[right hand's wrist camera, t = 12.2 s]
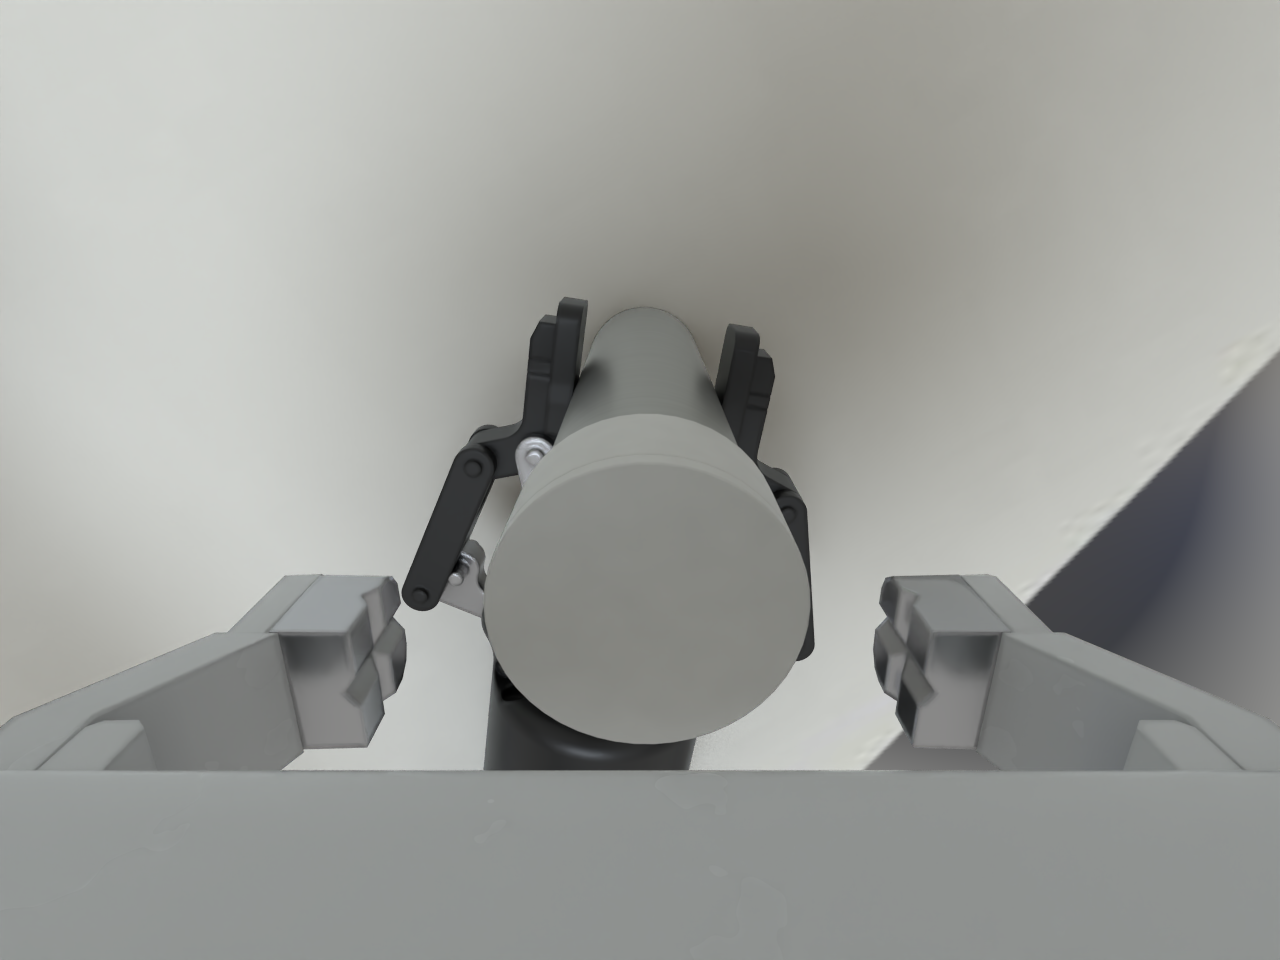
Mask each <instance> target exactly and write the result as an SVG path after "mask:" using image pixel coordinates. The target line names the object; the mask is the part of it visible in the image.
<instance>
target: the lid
mask: <svg viewBox="0 0 1280 960" xmlns="http://www.w3.org/2000/svg"><path fill="white" fill-rule="evenodd" d="M483 604H484V617H485V624H486V628H487V633H488V637H489V640H490V643H491V645H492V648H493V651H494V653H495V656H496V658H497V660H498V661H499V663H500V665H501V667H502V669H503V670H504V672H505V674H506V675H507V676H508V678H509V679H510V680H511V682H512V683H513V684H514V686H515V687H516V688H517V689H518V690H519V691H520V692H521V693H522V694H523V695H524V696H525V697H526V698H527V699H528V700H529V701H530V702H531V703H532V704H534V705H535V706H536V707H537V708H539V709H540V710H541V711H542V712H544V713H545V714H547V715H548V716H550V717H552V718H553V719H555V720H557V721H558V722H560V723H562V724H564V725H566V726H568V727H570V728H572V729H575V730H577V731H579V732H582V733H585V734H588V735H591V736H594V737H597V738H602V739H606V740H610V741H615V742H623V743H632V744H661V743H671V742H678V741H683V740H688V739H693V738H696V737H699V736H702V735H706V734H709V733H712V732H714V731H716V730H719V729H721V728H723V727H726V726H728V725H730V724H732V723H733V722H735V721H737V720H739V719H740V718H742V717H744V716H746V715H747V714H748V713H750V712H751V711H752V710H754V709H755V708H756V707H758V706H759V705H760V704H761V703H763V702H764V701H765V700H766V699H767V698H768V697H769V696H770V695H771V694H772V693H773V692H774V691H775V690H776V689H777V687H778V686H779V685H780V684H781V682H782V681H783V680H784V679H785V678H786V676H787V674H788V673H789V671H790V670H791V668H792V666H793V665H794V663H795V661H796V659H797V657H798V655H799V652H800V650H801V648H802V646H803V643H804V639H805V636H806V632H807V628H808V623H809V615H810V587H809V582H808V576H807V571H806V568H805V565H804V562H803V559H802V556H801V554H800V551H799V549H798V547H797V545H796V543H795V540H794V538H793V536H792V534H791V532H790V530H789V527H788V525H787V523H786V521H785V519H784V517H783V515H782V512H781V510H780V508H779V506H778V504H777V502H776V500H775V497H774V495H773V493H772V491H771V489H770V487H769V485H768V483H767V481H766V479H765V478H764V476H763V474H762V473H761V471H760V470H759V469H758V467H757V466H756V465H755V463H754V462H753V461H752V460H751V459H750V458H749V456H748V455H747V454H746V453H745V452H744V451H743V450H742V449H741V448H739V447H738V446H737V445H736V444H734V443H733V442H732V441H730V440H729V439H728V438H727V437H725V436H723V435H721V434H720V433H718V432H716V431H715V430H713V429H711V428H709V427H706V426H704V425H701V424H699V423H697V422H694V421H691V420H687V419H683V418H680V417H676V416H669V415H662V414H632V415H623V416H617V417H613V418H609V419H605V420H601V421H599V422H596V423H594V424H591V425H589V426H586V427H584V428H582V429H580V430H578V431H576V432H575V433H573V434H571V435H569V436H568V437H566V438H565V439H564V440H562V441H561V442H560V443H558V444H557V445H555V446H554V447H553V448H552V449H551V450H550V451H549V452H548V453H547V454H546V455H545V456H544V457H543V458H542V459H541V460H540V461H539V463H538V464H537V465H536V467H535V468H534V469H533V470H532V472H531V473H530V475H529V477H528V479H527V480H526V482H525V484H524V486H523V488H522V490H521V492H520V494H519V497H518V499H517V501H516V504H515V506H514V508H513V510H512V513H511V515H510V517H509V520H508V522H507V524H506V526H505V529H504V531H503V533H502V536H501V538H500V540H499V542H498V545H497V547H496V549H495V552H494V554H493V557H492V560H491V562H490V565H489V568H488V572H487V577H486V581H485V588H484V602H483Z"/></svg>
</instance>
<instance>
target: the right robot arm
mask: <svg viewBox="0 0 1280 960" xmlns="http://www.w3.org/2000/svg"><path fill="white" fill-rule="evenodd" d="M400 604H401V601H400V596H399V590H398V584H397V582H396V581H395V580H394V578H393V577H392V576H357V575H322V574H309V575H288V576H284V577H283V578H282V579H281V580H280V581H279V582H278V583H277V584H276V585H275V586H274V587H273V588H272V589H271V590H270V591H269V592H268V593H267V594H266V595H265V596H264V597H263V598H262V599H261V600H260V601H259V602H258V603H257V604H256V605H255V606H254V607H253V608H252V609H251V610H250V611H249V612H248V613H247V614H246V615H245V616H243V617H242V618H241V619H240V620H239V621H238V622H237V623H236V624H235V625H234V626H233V627H232V628H231V629H230V630H229V631H228V632H227V633H214V634H211V635H209V636H207V637H204V638H202V639H199V640H197V641H195V642H192V643H190V644H187V645H185V646H183V647H180V648H178V649H175V650H173V651H171V652H168V653H166V654H164V655H161V656H159V657H156V658H154V659H152V660H149V661H147V662H144V663H142V664H140V665H137V666H135V667H132V668H130V669H128V670H125V671H123V672H120V673H118V674H116V675H113V676H111V677H108V678H106V679H104V680H101V681H99V682H96V683H94V684H92V685H89V686H87V687H84V688H82V689H80V690H77V691H75V692H72V693H70V694H68V695H65V696H63V697H60V698H58V699H56V700H53V701H51V702H48V703H46V704H44V705H41V706H39V707H36V708H34V709H32V710H29V711H27V712H24V713H22V714H20V715H17V716H15V717H13V718H11V719H10V720H9V721H8V722H6V723H5V724H4V725H2V726H1V727H0V960H1280V727H1279V726H1278V725H1277V724H1275V723H1274V722H1273V721H1272V720H1270V719H1269V718H1267V717H1264V716H1262V715H1260V714H1257V713H1255V712H1253V711H1250V710H1248V709H1245V708H1243V707H1241V706H1238V705H1236V704H1234V703H1231V702H1229V701H1226V700H1224V699H1221V698H1219V697H1217V696H1214V695H1212V694H1210V693H1207V692H1205V691H1202V690H1200V689H1198V688H1195V687H1193V686H1190V685H1188V684H1186V683H1183V682H1181V681H1178V680H1176V679H1174V678H1171V677H1169V676H1167V675H1164V674H1162V673H1159V672H1157V671H1155V670H1152V669H1150V668H1147V667H1145V666H1143V665H1140V664H1138V663H1135V662H1133V661H1131V660H1128V659H1126V658H1124V657H1121V656H1119V655H1116V654H1114V653H1112V652H1109V651H1107V650H1104V649H1102V648H1100V647H1097V646H1095V645H1092V644H1090V643H1088V642H1085V641H1083V640H1080V639H1078V638H1076V637H1073V636H1071V635H1068V634H1066V633H1053V632H1052V631H1051V630H1050V629H1049V628H1048V627H1047V626H1046V625H1045V624H1044V623H1043V622H1042V621H1041V620H1040V619H1039V618H1038V617H1037V616H1036V615H1034V613H1033V612H1032V611H1031V610H1030V609H1029V608H1028V607H1026V606H1025V605H1024V604H1023V603H1022V602H1021V601H1020V600H1019V599H1018V598H1017V597H1016V596H1015V595H1014V594H1013V593H1012V592H1011V591H1010V590H1009V589H1008V588H1007V587H1006V586H1005V585H1004V584H1003V583H1002V582H1001V581H1000V580H999V579H998V578H997V577H996V576H993V575H989V574H977V575H926V576H892V577H887V578H885V581H884V583H883V586H882V588H881V595H880V601H879V604H880V605H881V607H882V609H883V610H884V612H885V614H886V615H887V618H886V619H885V620H884V621H883V622H882V623H881V624H880V625H879V626H878V627H877V628H876V629H875V638H874V647H873V652H874V665H875V670H876V674H877V677H878V681H879V683H880V685H881V687H882V689H883V691H884V693H886V694H887V695H889V696H890V697H892V698H893V699H895V700H896V701H897V706H896V712H895V714H896V716H897V718H898V720H899V722H900V724H901V726H902V728H903V730H904V731H905V733H906V735H907V737H908V739H909V741H910V743H911V745H912V746H913V747H914V748H950V749H977V750H976V752H977V753H978V754H979V755H981V756H982V757H983V758H985V759H986V760H987V761H989V762H990V763H991V764H992V765H994V766H995V767H996V768H998V769H999V770H281V769H283V768H284V767H285V766H287V765H288V764H289V763H290V762H292V761H293V760H294V759H296V758H297V757H298V756H300V755H301V754H302V753H303V752H304V751H303V749H329V748H364V747H368V745H369V743H370V741H371V739H372V737H373V735H374V733H375V731H376V730H377V728H378V726H379V724H380V722H381V720H382V718H383V716H384V714H385V712H384V706H383V701H384V700H385V699H387V698H388V697H390V696H391V695H393V694H394V693H396V691H397V689H398V687H399V685H400V683H401V681H402V678H403V673H404V669H405V664H406V636H405V629H404V628H403V627H402V626H401V625H400V624H399V623H398V622H397V621H396V620H395V619H394V618H393V615H394V614H395V612H396V610H397V609H398V607H399V605H400Z"/></svg>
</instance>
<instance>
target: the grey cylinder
mask: <svg viewBox="0 0 1280 960" xmlns="http://www.w3.org/2000/svg"><path fill="white" fill-rule="evenodd" d="M632 414H662V415H669V416H676V417H680V418H683V419H687V420H691V421H694V422H697V423H699V424H701V425H704V426H706V427H709V428H711V429H713V430H715V431H716V432H718V433H720V434H721V435H723V436H725V437H727V438H728V439H729V440H730V441H732V442H733V443H734V444H736V445H737V443H736V440H735V438H734V436H733V433H732V431H731V428H730V426H729V423H728V421H727V419H726V416H725V414H724V411H723V409H722V406H721V404H720V401H719V399H718V397H717V394H716V392H715V389H714V387H713V384H712V382H711V380H710V377H709V375H708V372H707V370H706V367H705V365H704V363H703V360H702V358H701V355H700V353H699V350H698V348H697V345H696V343H695V341H694V338H693V337H692V335H691V333H690V331H689V330H688V329H687V327H686V326H685V325H684V324H683V323H682V322H681V321H680V320H679V319H677V318H676V317H675V316H673V315H671V314H670V313H667V312H665V311H663V310H659V309H656V308H649V307H639V308H633V309H629V310H626V311H623V312H621V313H619V314H617V315H615V316H614V317H612V318H611V319H610V320H608V321H607V322H606V323H605V324H604V325H603V326H602V328H601V329H600V330H599V332H598V333H597V335H596V337H595V339H594V341H593V344H592V346H591V349H590V352H589V354H588V357H587V359H586V362H585V365H584V367H583V370H582V372H581V375H580V378H579V380H578V383H577V386H576V388H575V391H574V393H573V396H572V399H571V401H570V404H569V406H568V409H567V412H566V414H565V417H564V419H563V422H562V425H561V427H560V430H559V432H558V435H557V438H556V440H555V443H554V445H553V447H554V446H555V445H557V444H558V443H560V442H561V441H562V440H564V439H565V438H566V437H568V436H569V435H571V434H573V433H575V432H576V431H578V430H580V429H582V428H584V427H586V426H589V425H591V424H594V423H596V422H599V421H601V420H605V419H609V418H613V417H617V416H623V415H632ZM737 446H738V445H737Z"/></svg>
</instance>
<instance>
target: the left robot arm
mask: <svg viewBox="0 0 1280 960" xmlns="http://www.w3.org/2000/svg"><path fill="white" fill-rule="evenodd" d="M587 308H588V301H587V300H581V299H575V298H568V297H564V298H563V299H562V300H561V301H560V303H559V306H558V311H557V316H552V315H545V316H544V317H543V318H542V319H541V320H540V321H539V323H538V325H537V327H536V329H535V331H534V332H533V334H532V336H531V338H530V348H529V360H528V369H527V371H528V372H527V380H526V391H525V401H524V412H523V420H521V421H520V422H518V423H516V424H513V425H508V426H503V427H497V426H494V425H484V426H481V427H479V428H478V429H477V430H476V431H475V432H474V433H473V435H472V436H471V438H470V440H469V442H468V444H467V445H466V446H465V447H463V448H462V449H461V450H460V452H459V453H458V454H457V456H456V457H455V459H454V461H453V464H452V466H451V469H450V471H449V474H448V476H447V479H446V481H445V483H444V486H443V488H442V491H441V493H440V496H439V498H438V501H437V503H436V506H435V508H434V511H433V513H432V516H431V518H430V521H429V523H428V526H427V528H426V531H425V533H424V536H423V538H422V541H421V543H420V546H419V548H418V550H417V553H416V555H415V558H414V560H413V563H412V565H411V568H410V570H409V573H408V575H407V578H406V580H405V583H404V585H403V588H402V598H403V600H404V602H405V603H406V604H407V605H408V606H409V607H411V608H413V609H415V610H418V611H427V610H431V609H433V608H434V607H435V606H436V605H437V604H438V602H439V601H441V602H443V603H446V604H448V605H451V606H453V607H456V608H458V609H461V610H463V611H466V612H468V613H471V614H473V615H476V616H478V617H481V620H482V627H483V630H484V633H485V634H486V636H487V638H488V640H489V637H488V633H487V628H486V624H485V617H484V604H483V602H484V588H485V581H486V577H487V575H486V573H485V571H484V562H485V552H484V550H483V548H482V547H481V546H480V545H479V543H478V542H477V541H475V540H470V539H469V538H470V536H471V533H472V531H473V529H474V526H475V524H476V522H477V519H478V517H479V515H480V512H481V510H482V508H483V506H484V503H485V501H486V499H487V496H488V494H489V492H490V489H491V487H492V485H493V482H494V480H495V479H498V478H503V477H509V476H514V475H519V478H520V482H521V487H522V488H523V486H524V484H525V482H526V480H527V479H528V477H529V475H530V473H531V472H532V470H533V469H534V468H535V467H536V465H537V464H538V463H539V461H540V460H541V459H542V458H543V457H544V456H545V455H546V454H547V453H548V452H549V451H550V450H551V449H552V448H553V445H554V443H555V440H556V438H557V435H558V432H559V430H560V427H561V425H562V422H563V419H564V417H565V414H566V412H567V409H568V406H569V404H570V401H571V399H572V396H573V393H574V391H575V388H576V386H577V383H578V380H579V374H580V366H581V358H582V350H583V342H584V333H585V325H586V317H587ZM759 344H760V336H759V334H758V333H757V332H756V331H755V330H754V329H753V327H747V326H741V325H735V324H729V325H728V327H727V331H726V335H725V339H724V344H723V349H722V354H721V359H720V364H719V369H718V374H717V379H716V384H715V392H716V394H717V397H718V399H719V401H720V404H721V406H722V409H723V411H724V414H725V416H726V419H727V421H728V423H729V426H730V428H731V431H732V433H733V436H734V438H735V440H736V443H737V445H738V447H739V448H741V449H742V450H743V451H744V452H745V453H746V454H747V455H748V456H749V458H750V459H751V460H752V461H753V462H754V463H755V465H756V466H757V467H758V469H759V470H760V471H761V473H762V474H763V476H764V478H765V479H766V481H767V483H768V485H769V487H770V489H771V491H772V493H773V495H774V497H775V500H776V502H777V504H778V506H779V508H780V510H781V512H782V515H783V517H784V519H785V521H786V523H787V525H788V527H789V530H790V532H791V534H792V536H793V538H794V540H795V543H796V545H797V547H798V549H799V551H800V554H801V556H802V559H803V562H804V565H805V568H806V571H807V576H808V582H809V587H810V615H809V623H808V628H807V632H806V636H805V639H804V643H803V646H802V648H801V650H800V652H799V655H798V657H797V659H796V661H800V660H803V659H805V658H807V657H808V656H809V655H810V654H811V653H812V652H813V650H814V644H815V643H814V626H813V608H812V591H811V573H810V555H809V538H808V520H807V508H806V506H805V504H804V502H803V500H802V498H801V497H800V495H799V493H798V491H797V489H796V488H795V486H794V484H793V482H792V481H791V479H790V477H789V475H788V474H787V473H786V472H785V471H784V470H782V469H779V468H771V467H769V466H767V465H765V464H764V463H762V462H760V461H759V460H758V459H757V453H758V448H759V444H760V440H761V435H762V431H763V427H764V422H765V418H766V414H767V408H768V405H769V401H770V395H771V392H772V388H773V383H774V379H775V374H774V367H773V361H772V358H771V357H770V356H769V354H768V353H767V352H766V351H765V350H764V349H759ZM489 642H490V640H489ZM490 644H491V643H490ZM491 647H492V645H491ZM492 650H493V648H492ZM493 656H494V662H493V673H492V684H491V695H490V706H489V717H488V728H487V738H486V749H485V760H484V770H689V767H690V762H691V758H692V754H693V749H694V745H695V741H696V738H693V739H688V740H683V741H678V742H671V743H661V744H632V743H623V742H615V741H610V740H606V739H602V738H597V737H594V736H591V735H588V734H585V733H582V732H579V731H577V730H575V729H572V728H570V727H568V726H566V725H564V724H562V723H560V722H558V721H557V720H555V719H553V718H552V717H550V716H548V715H547V714H545V713H544V712H542V711H541V710H540V709H539V708H537V707H536V706H535V705H534V704H532V703H531V702H530V701H529V700H528V699H527V698H526V697H525V696H524V695H523V694H522V693H521V692H520V691H519V690H518V689H517V688H516V687H515V686H514V684H513V683H512V682H511V680H510V679H509V678H508V676H507V675H506V674H505V672H504V670H503V669H502V667H501V665H500V663H499V661H498V660H497V658H496V656H495V653H494V651H493Z"/></svg>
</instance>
